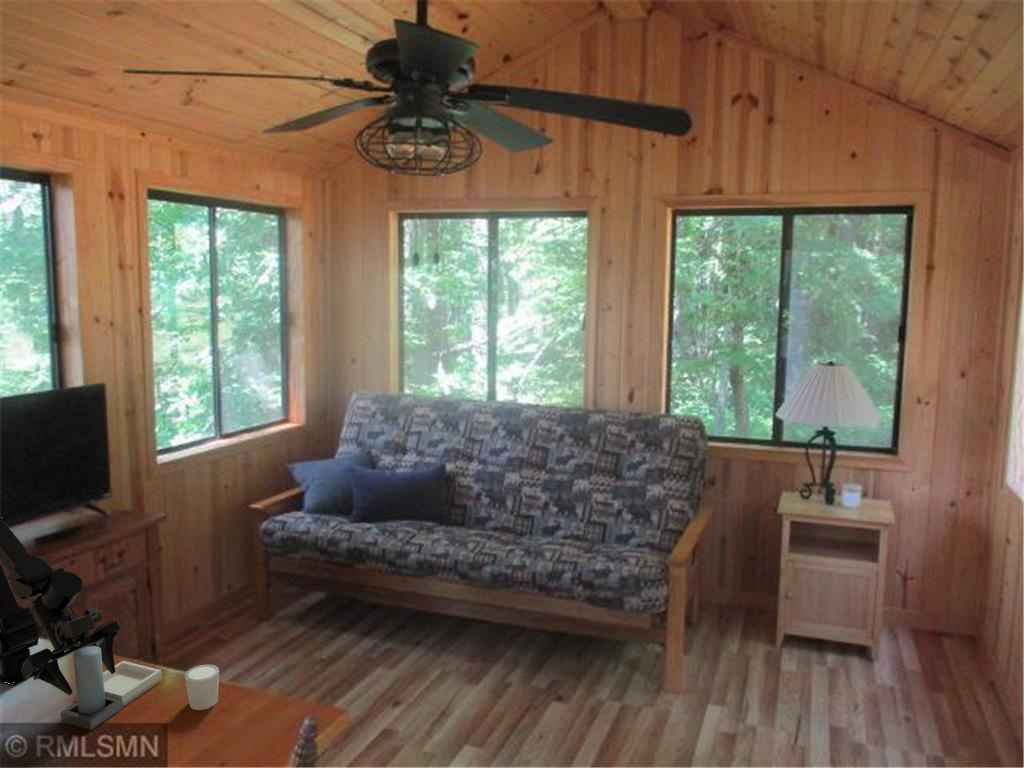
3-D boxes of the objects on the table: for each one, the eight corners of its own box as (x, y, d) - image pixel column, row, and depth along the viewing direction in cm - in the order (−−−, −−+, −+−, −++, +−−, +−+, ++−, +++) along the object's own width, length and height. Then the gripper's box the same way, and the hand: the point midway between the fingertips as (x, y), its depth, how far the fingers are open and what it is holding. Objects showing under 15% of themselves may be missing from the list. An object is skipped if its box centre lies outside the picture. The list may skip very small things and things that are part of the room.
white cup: (226, 694, 173) (224, 665, 172) (211, 713, 166) (209, 682, 165) (196, 692, 174) (194, 662, 172) (180, 710, 167) (178, 679, 166)
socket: (61, 721, 162) (60, 712, 162) (93, 700, 170) (93, 692, 169) (91, 730, 160) (90, 721, 159) (122, 708, 167) (122, 699, 167)
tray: (83, 695, 171) (82, 685, 171) (123, 670, 182) (123, 660, 181) (123, 706, 168) (122, 695, 167) (162, 680, 178) (161, 670, 177)
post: (73, 719, 163) (67, 655, 161) (93, 705, 168) (88, 644, 165) (91, 724, 162) (86, 660, 159) (111, 711, 166) (106, 648, 164)
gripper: (23, 618, 155) (62, 687, 151) (113, 584, 171) (149, 645, 167) (5, 645, 160) (41, 712, 156) (93, 609, 176) (128, 669, 172)
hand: (92, 683), depth 163 cm, fingers open, 9 cm apart
